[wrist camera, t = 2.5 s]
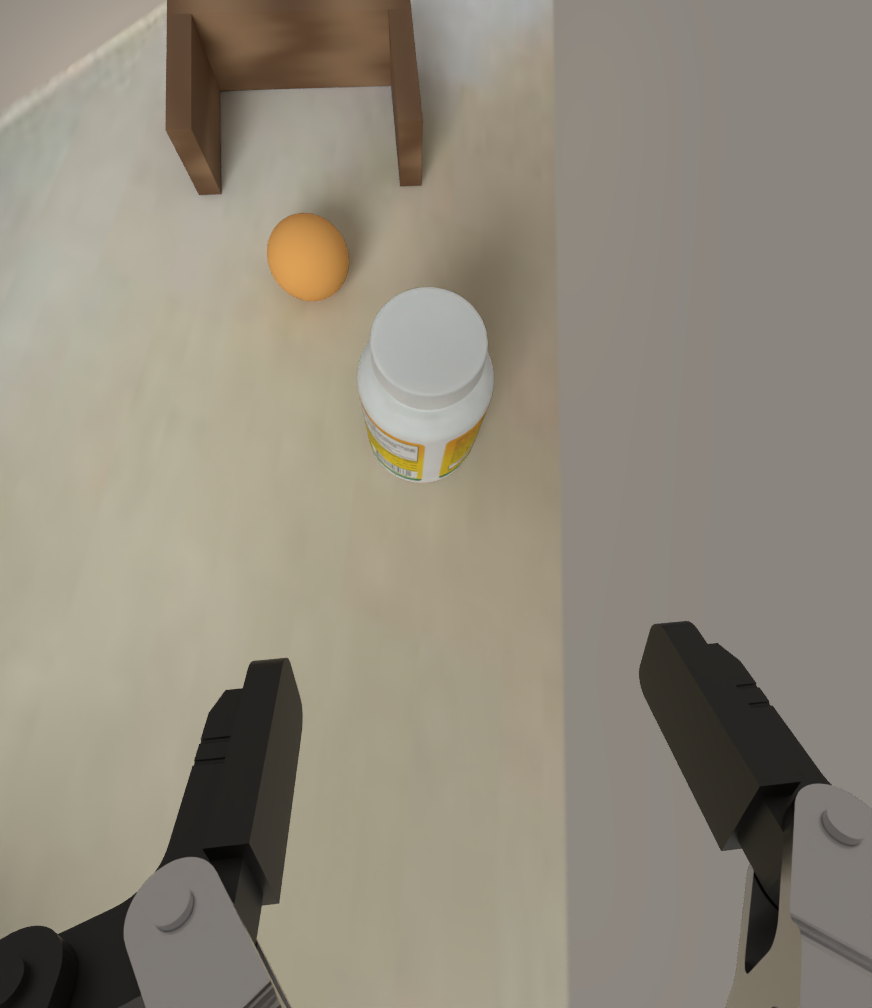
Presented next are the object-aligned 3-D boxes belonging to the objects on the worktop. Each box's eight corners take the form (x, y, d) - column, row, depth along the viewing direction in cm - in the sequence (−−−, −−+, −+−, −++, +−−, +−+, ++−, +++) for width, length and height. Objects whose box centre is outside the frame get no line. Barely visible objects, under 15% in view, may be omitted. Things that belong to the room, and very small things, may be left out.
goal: (199, 194, 29) (165, 129, 25) (198, 74, 30) (167, -5, 27) (421, 185, 30) (422, 120, 26) (409, 68, 31) (409, -10, 27)
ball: (273, 312, 28) (250, 263, 24) (284, 246, 28) (263, 188, 25) (348, 320, 28) (337, 272, 24) (357, 254, 29) (348, 197, 25)
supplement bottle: (376, 491, 26) (355, 424, 17) (364, 391, 27) (338, 275, 18) (481, 477, 26) (520, 405, 17) (466, 380, 27) (493, 260, 18)
